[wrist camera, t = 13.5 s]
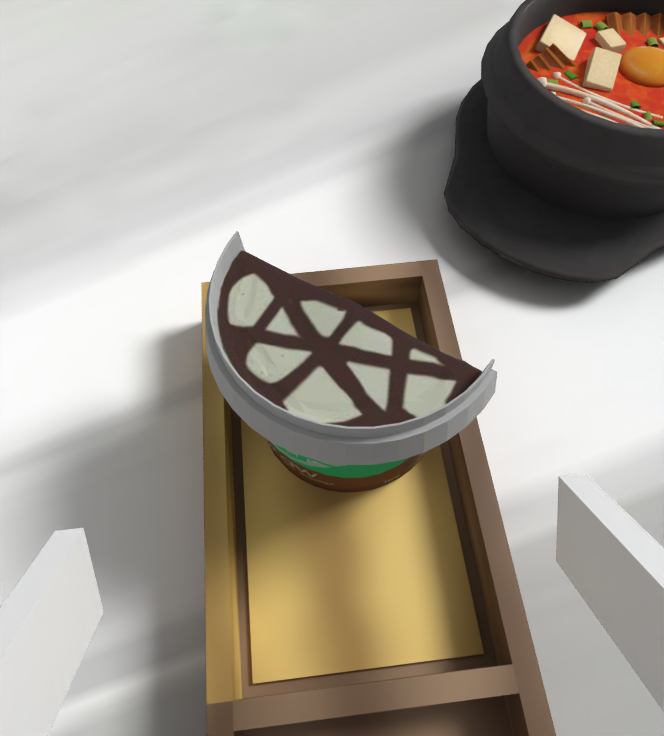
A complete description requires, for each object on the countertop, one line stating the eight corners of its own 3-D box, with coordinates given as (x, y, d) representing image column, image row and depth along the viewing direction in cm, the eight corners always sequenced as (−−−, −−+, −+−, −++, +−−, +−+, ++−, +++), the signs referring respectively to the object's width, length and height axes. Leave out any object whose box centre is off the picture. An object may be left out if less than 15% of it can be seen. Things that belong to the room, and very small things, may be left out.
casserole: (644, 355, 33) (731, 264, 26) (374, 214, 39) (382, 104, 31) (773, 112, 43) (865, -6, 35) (542, 25, 48) (579, -95, 40)
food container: (187, 437, 30) (124, 337, 21) (257, 348, 32) (226, 225, 23) (397, 569, 27) (427, 516, 18) (457, 460, 29) (508, 366, 20)
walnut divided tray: (428, 295, 35) (436, 259, 32) (638, 1196, 19) (696, 1299, 16) (213, 317, 35) (201, 282, 32) (235, 1266, 18) (214, 1387, 15)
